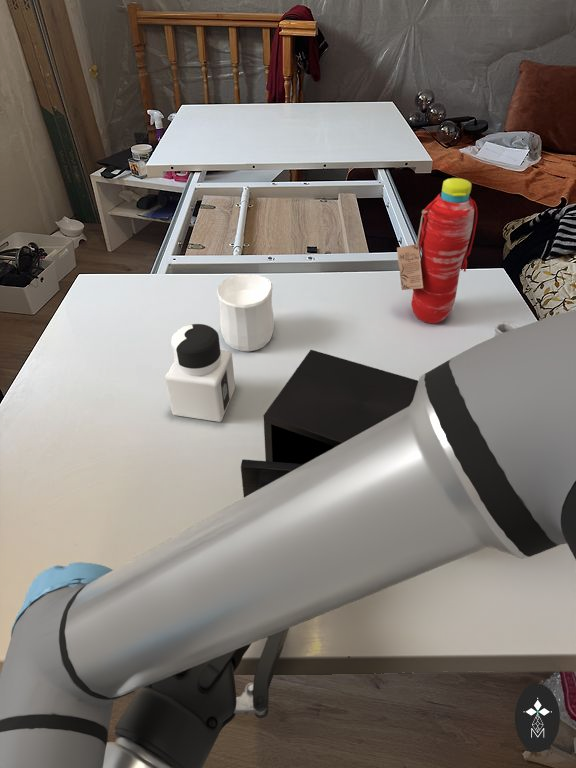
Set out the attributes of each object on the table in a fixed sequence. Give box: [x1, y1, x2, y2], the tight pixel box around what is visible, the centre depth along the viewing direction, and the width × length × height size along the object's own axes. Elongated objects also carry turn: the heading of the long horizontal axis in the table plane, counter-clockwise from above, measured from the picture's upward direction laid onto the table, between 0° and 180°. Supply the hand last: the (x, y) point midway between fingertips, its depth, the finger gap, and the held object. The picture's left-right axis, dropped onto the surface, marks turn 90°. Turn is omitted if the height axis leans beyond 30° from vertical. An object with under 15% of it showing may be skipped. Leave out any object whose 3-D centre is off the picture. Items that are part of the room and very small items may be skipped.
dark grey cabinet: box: [262, 349, 419, 464], centre depth 65 cm, size 13×18×15 cm
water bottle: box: [396, 177, 479, 324], centre depth 90 cm, size 12×8×25 cm, turn 89°
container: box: [164, 323, 236, 423], centre depth 77 cm, size 8×8×13 cm
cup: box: [216, 273, 275, 352], centre depth 91 cm, size 10×10×10 cm
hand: (281, 524), depth 57 cm, fingers open, 3 cm apart
